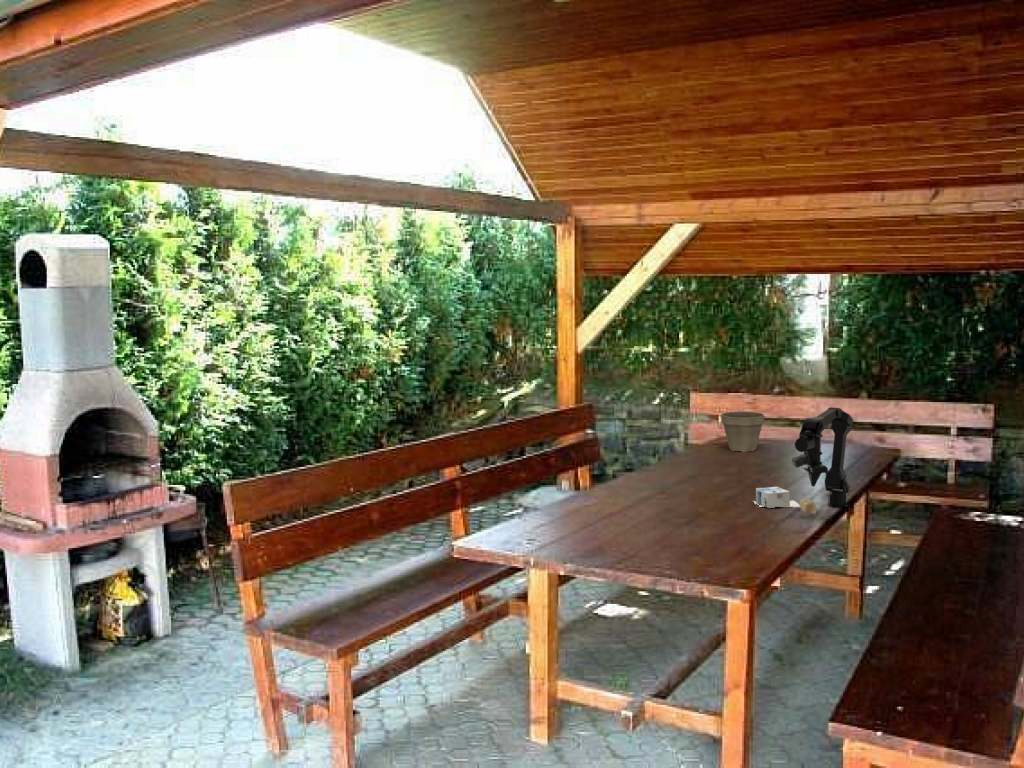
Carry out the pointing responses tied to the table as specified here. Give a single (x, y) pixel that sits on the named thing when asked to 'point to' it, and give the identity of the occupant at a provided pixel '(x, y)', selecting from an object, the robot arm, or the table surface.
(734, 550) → the table surface
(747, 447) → the plant pot
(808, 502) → the oak block
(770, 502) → the light bulb box
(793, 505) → the white flat board
